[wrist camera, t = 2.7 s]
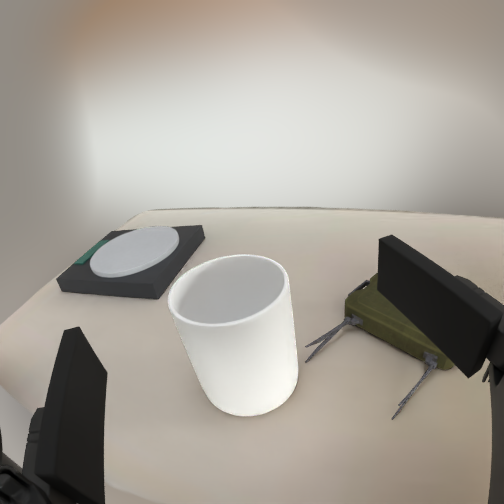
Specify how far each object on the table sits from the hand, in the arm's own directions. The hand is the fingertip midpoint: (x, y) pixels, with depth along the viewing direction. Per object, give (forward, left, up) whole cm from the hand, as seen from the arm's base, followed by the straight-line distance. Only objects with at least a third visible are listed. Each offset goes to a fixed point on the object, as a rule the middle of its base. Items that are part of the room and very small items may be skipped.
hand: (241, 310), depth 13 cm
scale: (-29, +26, -14) cm, 42 cm away
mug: (-5, +8, -14) cm, 17 cm away
